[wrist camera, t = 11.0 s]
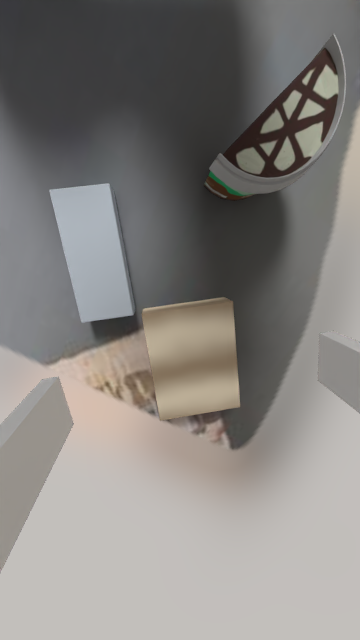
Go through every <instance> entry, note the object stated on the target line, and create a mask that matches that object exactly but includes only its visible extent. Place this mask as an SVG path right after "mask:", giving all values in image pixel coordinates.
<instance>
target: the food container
mask: <svg viewBox="0 0 360 640" xmlns="http://www.w3.org/2000/svg"><path fill="white" fill-rule="evenodd" d="M345 92H346V71H345V65H344V59H343V55H342V52H341V48H340V45H339V43H338V40H337V38H336V36H335V34H333V35H332V36H331V37H330V39H329V40H328V41H327V42H326V44H325V45H324V46H323V48H322V49H321V50H320V51H319V53H318V54H317V55H316V56H315V58H314V59H313V60H312V62H311V63H310V64H309V65H308V66H307V67H306V68H305V69H304V70H303V71H302V72H301V73H300V74H299V75H298V76H297V77H296V78H295V79H294V80H293V81H292V83H291V84H290V85H289V86H288V87H287V88H286V89H285V90H284V91H283V92H282V93H281V94H280V95H279V96H278V97H277V98H276V99H275V100H274V101H273V102H272V103H271V104H270V105H269V106H268V107H267V108H266V109H265V111H264V112H263V113H262V114H261V115H260V116H259V117H258V118H257V119H256V120H255V121H254V122H253V123H252V124H251V125H250V126H249V127H248V128H247V129H246V130H245V131H244V133H243V134H242V135H241V136H240V137H239V138H238V139H237V140H236V141H235V142H234V143H233V144H232V145H231V146H230V147H229V148H228V149H227V150H226V152H225V153H224V154H223V155H222V154H221V153H219V155H218V157H217V158H216V159H215V160H214V162H213V163H212V165H211V166H210V168H209V169H210V170H211V171H210V173H209V175H208V177H207V179H206V181H205V183H204V186H205V187H206V188H207V189H208V190H209V191H210V192H211V193H213V194H214V195H216V196H218V197H220V198H222V199H227V200H233V201H235V200H240V199H245V198H248V197H250V196H252V195H254V194H262V193H270V192H275V191H278V190H280V189H283V188H285V187H287V186H289V185H291V184H292V183H294V182H296V181H297V180H298V179H299V178H300V177H302V176H303V175H304V174H305V173H306V172H307V171H308V170H309V169H310V168H311V166H312V165H313V164H314V163H315V162H316V161H317V160H318V159H319V157H320V156H321V155H322V154H323V152H324V151H325V149H326V148H327V146H328V144H329V142H330V140H331V138H332V136H333V134H334V132H335V130H336V128H337V126H338V123H339V120H340V118H341V115H342V111H343V106H344V101H345Z"/></svg>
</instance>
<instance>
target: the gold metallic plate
mask: <svg viewBox="0 0 360 640" xmlns="http://www.w3.org/2000/svg"><path fill="white" fill-rule="evenodd" d="M142 320H143V325H144V331H145V337H146V343H147V348H148V354H149V360H150V366H151V371H152V377H153V383H154V389H155V394H156V400H157V406H158V412H159V417H160V421H162V420H167V419H173V418H179V417H185V416H191V415H196V414H202V413H208V412H214V411H220V410H225V409H231V408H237V407H240V396H239V382H238V368H237V353H236V339H235V325H234V311H233V301H231V300H229V299H227V298H225V297H221V298H214V299H207V300H200V301H193V302H186V303H179V304H172V305H165V306H158V307H151V308H144V309H143V312H142Z"/></svg>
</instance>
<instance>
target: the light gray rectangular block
mask: <svg viewBox="0 0 360 640" xmlns="http://www.w3.org/2000/svg"><path fill="white" fill-rule="evenodd" d="M49 191H50V195H51V199H52V204H53V208H54V212H55V216H56V220H57V224H58V228H59V232H60V236H61V241H62V245H63V249H64V253H65V257H66V261H67V265H68V269H69V273H70V277H71V282H72V286H73V290H74V294H75V298H76V302H77V306H78V310H79V314H80V318H81V323H82V322H89V321H96V320H103V319H110V318H117V317H124V316H131V315H134V312H135V304H134V299H133V293H132V288H131V282H130V277H129V271H128V265H127V260H126V254H125V249H124V243H123V238H122V232H121V226H120V221H119V215H118V210H117V204H116V199H115V193H114V191H113V189H112V187H111V186H110V184H109V183H107V184H97V185H88V186H79V187H70V188H61V189H52V190H49Z"/></svg>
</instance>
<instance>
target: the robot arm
mask: <svg viewBox="0 0 360 640" xmlns="http://www.w3.org/2000/svg"><path fill="white" fill-rule="evenodd" d="M318 356H319V357H318V381H319V382H320V383H321V384H323V385H324V386H325V387H327V388H328V389H329V390H330V391H332V392H333V393H334V394H336V395H337V396H338V397H340V398H341V399H342V400H343V401H345V402H346V403H347V404H348V405H350V406H351V407H352V408H353V409H355V410H356V411H357V412H359V413H360V342H359V341H356V340H354V339H352V338H349V337H347V336H345V335H342V334H340V333H337V332H335V331H329V332H323V333H319V355H318ZM73 424H74V423H73V421H72V417H71V414H70V411H69V408H68V405H67V401H66V398H65V395H64V392H63V389H62V386H61V383H60V379H59V377H53V378H47V379H42V380H41V381H40V382H39V384H38V385H37V386H36V387H35V388H34V389H33V390H32V391H31V392H30V393H29V394H28V395H27V396H26V398H25V399H24V400H23V401H22V402H21V403H20V404H19V405H18V406H17V407H16V408H15V410H14V411H13V412H12V413H11V414H10V415H9V416H8V417H7V418H6V419H5V420H4V421H3V422H2V424H1V425H0V572H1V570H2V568H3V566H4V564H5V562H6V560H7V558H8V556H9V554H10V552H11V550H12V548H13V546H14V544H15V542H16V540H17V538H18V536H19V534H20V532H21V530H22V527H23V526H24V524H25V522H26V520H27V518H28V516H29V513H30V511H31V509H32V507H33V505H34V503H35V501H36V499H37V497H38V495H39V493H40V491H41V489H42V487H43V485H44V483H45V481H46V479H47V477H48V475H49V473H50V471H51V469H52V467H53V465H54V462H55V461H56V459H57V457H58V455H59V452H60V451H61V449H62V447H63V445H64V443H65V441H66V438H67V436H68V434H69V432H70V430H71V428H72V426H73Z"/></svg>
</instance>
